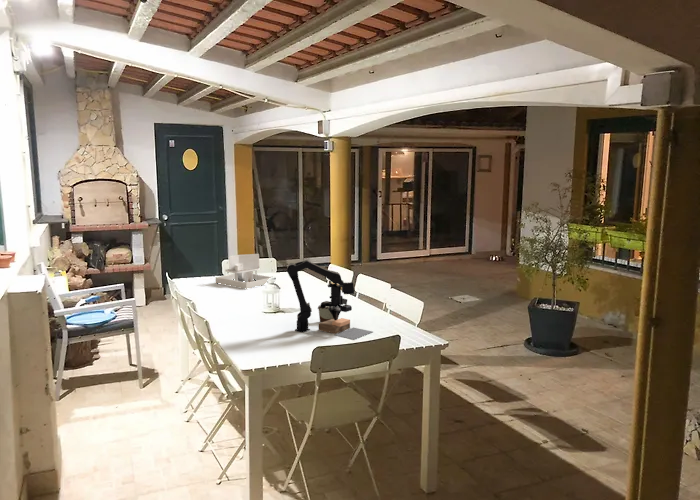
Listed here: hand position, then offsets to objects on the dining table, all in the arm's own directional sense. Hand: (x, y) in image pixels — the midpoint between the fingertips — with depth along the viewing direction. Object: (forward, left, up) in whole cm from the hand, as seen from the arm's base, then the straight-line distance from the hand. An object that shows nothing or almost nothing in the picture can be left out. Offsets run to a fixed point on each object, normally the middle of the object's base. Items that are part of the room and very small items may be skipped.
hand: (336, 320), depth 320 cm
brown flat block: (0, +1, -5) cm, 5 cm away
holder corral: (+57, +139, -5) cm, 150 cm away
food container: (+11, +14, -5) cm, 19 cm away
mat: (0, -13, -5) cm, 14 cm away
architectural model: (+57, +139, -6) cm, 150 cm away
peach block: (0, -4, -1) cm, 4 cm away
